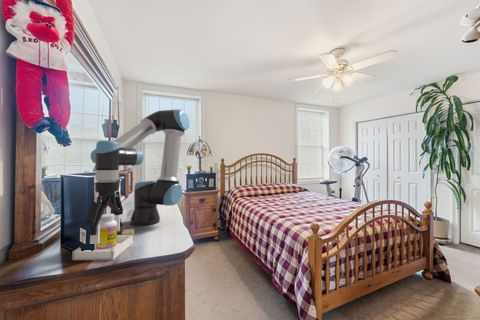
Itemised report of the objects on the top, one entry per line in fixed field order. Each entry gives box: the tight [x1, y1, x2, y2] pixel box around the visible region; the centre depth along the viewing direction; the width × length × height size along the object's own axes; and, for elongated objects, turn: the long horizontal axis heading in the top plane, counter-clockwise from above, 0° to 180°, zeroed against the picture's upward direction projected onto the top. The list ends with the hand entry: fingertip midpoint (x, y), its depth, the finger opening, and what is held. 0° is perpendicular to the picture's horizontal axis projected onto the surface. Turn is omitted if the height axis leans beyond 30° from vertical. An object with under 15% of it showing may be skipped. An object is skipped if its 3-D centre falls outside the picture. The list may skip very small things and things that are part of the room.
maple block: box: [121, 228, 135, 236], centre depth 91 cm, size 4×4×4 cm
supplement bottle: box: [96, 213, 118, 250], centre depth 80 cm, size 7×7×13 cm
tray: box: [71, 234, 135, 261], centre depth 80 cm, size 16×14×3 cm
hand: (106, 236), depth 80 cm, fingers open, 13 cm apart
